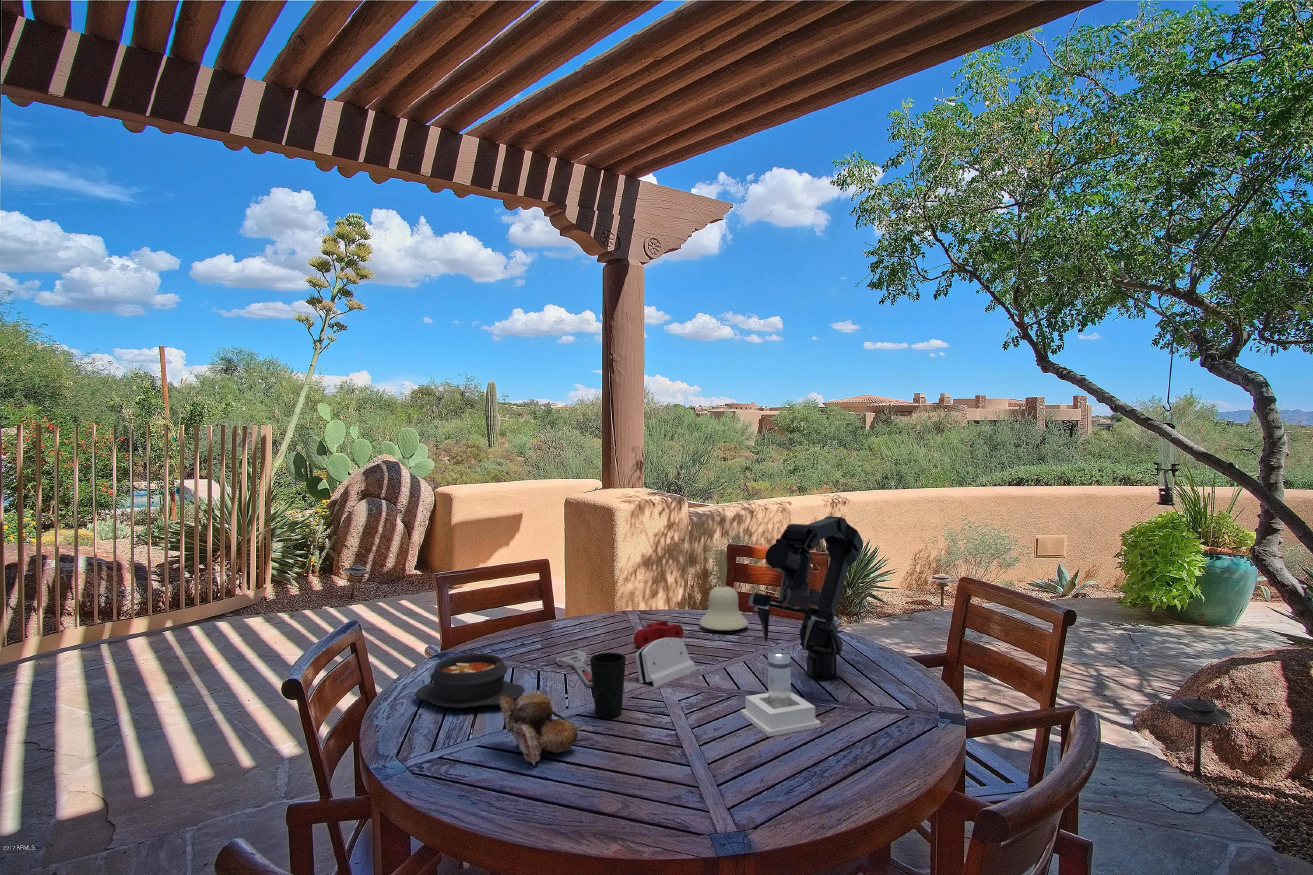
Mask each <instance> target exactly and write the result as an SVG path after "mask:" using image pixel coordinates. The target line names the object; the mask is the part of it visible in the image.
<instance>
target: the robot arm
mask: <svg viewBox="0 0 1313 875" xmlns="http://www.w3.org/2000/svg"><path fill="white" fill-rule="evenodd" d="M821 540H823V541H824V542H825V544H826V547H827V548H826V550H827V553H828V557H829V562H828V566H827V569H826V572H825V575H824V580H823V583H822V586H821V590H819V589H814V588H811V589H810V590H809V588H808V587H809V582H808V581H809V580H808V579H809V574H810V567H811V563H814V560H815V559H814V558H813V556H812V555H811V553H810V551H813V550H815V549H816V548H817V547H819V546H820V544H821ZM863 542H864V541H863V539H862V537H861V535H860V533H859V531H858V530H857V529H856V528H854V527H853V526H852V525H850V524H849V523H848V522H847V520H846V518H844V517H842V516H831V515H830V516H825V517H824V518H822V519H819V520H816V521H814V522H810V523H807V524H806V523H805V524H804V523H803V524H802V523H789V524H788V525H787V526H786V528H785V530H784V531H783V532H782V534H781V535H780V537H779V538H776V540H775V543H774V544H772V545H770V546H769V547H768V549H767V550H766V552H765V562H766V563H767V565H768V566H769V567H770V568H772V569H774V570H777V571H780V572H781V573H782V579H781V582H780V583H781V585H780V593H779V597H778V598H779V599H778V600H777V599H772V596H771V595H768V594H764V593H759V592H754V593H752V594H750V596H749V597H748V598H749V599H748V606H751V607H753V611H755V612H757V616H758V618H759V621H760V625H761V631H762V636H763V641H764V642H766V643H767V642H768V638H769V627H770V626H769V625H770V624H769V623H770V615H771V609H769V607H770V608H774V609H778V610H784V611H787V612H793V613H797V614H802V615H804V618H803V621H802V623H801V626H800V629H799V639H800V644H801V647H802V648H801V649H802V651H807V656H806V670H804V674H805V675H808V676H809V677H811V678H813V679H815V680H816V681H819V682H822V681H827V680H834V679H840V678H841V677H842V676H841V675H840V674H838V673H837V672H838V671H837V667H838V666H837V665H838V664H837V656H838V655H839V656H841V654H842V652H843V646H844V645H843V641H842V639H841V638H840V635H839V634H838V630H839V629H838V625H837V623H836V619H835V616H836V615H835V614H836V612H837V609H838V608H837V607H838V605H839V602H840V597H841V594H842V591H843V588H844V585H845V584H844V583H845V581H846V577H847V573H848V570H849V567H850V566H851V565H852V564H854V563H855V562H856V561H857V560H858V558H859V556H860V554H861V551H862V550H863V546H864V543H863ZM810 606H812V607H810Z"/></svg>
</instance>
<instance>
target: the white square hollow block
mask: <svg viewBox="0 0 1313 875" xmlns="http://www.w3.org/2000/svg"><path fill="white" fill-rule="evenodd" d="M744 697H745V699H744V700H745V708H743V709H740V711H739V712H740V716H742V717H743V718H745V719H746V720H747V721H748V722H749V723H751V724H752V725H754V726H755V728H757V729H759V731H761V732H762V733H764V734H765V735H766V736H768V737H769V738H770V737H775V736H780V735H786V734H791V733H796V732H803V731H808V730H813V729H818V728H821V727H822V723H821V721H820V720H818V719H817V718H816V706H815V705H814V704H812V703H810V702H808V700H805V699H804V698H802V697H801V696H799V695H797V694H796V693H794V692H792V691H791V706H789V707H783V708H777V709H773V708H772V707H770V706H769V701H768V692H765V693H758V694H753V695H746V696H744Z"/></svg>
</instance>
